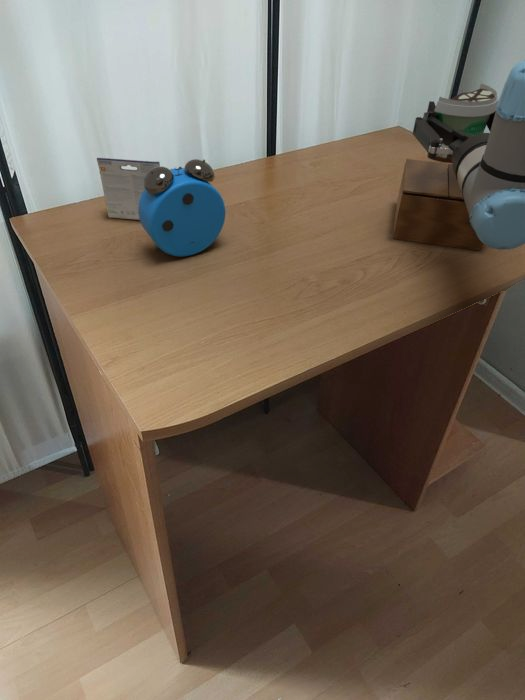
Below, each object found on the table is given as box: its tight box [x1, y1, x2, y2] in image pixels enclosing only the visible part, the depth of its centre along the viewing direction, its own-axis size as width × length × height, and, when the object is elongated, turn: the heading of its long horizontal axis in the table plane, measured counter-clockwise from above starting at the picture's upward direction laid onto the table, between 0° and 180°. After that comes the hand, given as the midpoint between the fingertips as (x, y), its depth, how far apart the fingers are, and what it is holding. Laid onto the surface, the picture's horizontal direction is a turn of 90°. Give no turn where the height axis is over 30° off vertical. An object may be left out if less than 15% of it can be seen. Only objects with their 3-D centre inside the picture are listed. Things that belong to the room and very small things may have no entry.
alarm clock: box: [139, 158, 226, 257], centre depth 87 cm, size 13×6×15 cm, turn 119°
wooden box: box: [392, 158, 483, 251], centre depth 96 cm, size 15×13×9 cm
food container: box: [428, 82, 499, 164], centre depth 87 cm, size 12×6×10 cm, turn 130°
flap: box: [447, 163, 464, 200], centre depth 92 cm, size 7×13×1 cm, turn 167°
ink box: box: [96, 157, 161, 221], centre depth 95 cm, size 12×2×12 cm, turn 82°
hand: (459, 111), depth 89 cm, fingers closed on food container, 9 cm apart
